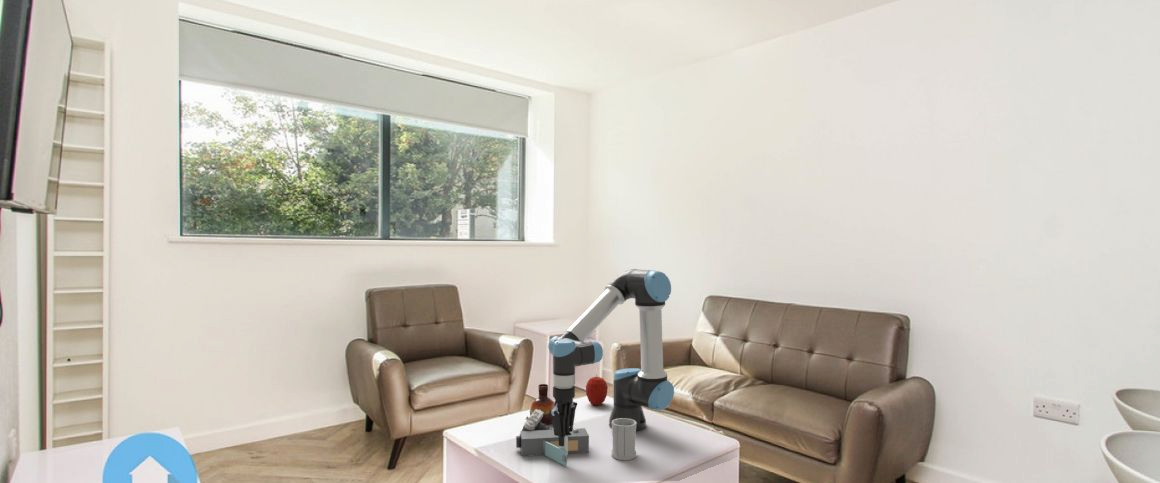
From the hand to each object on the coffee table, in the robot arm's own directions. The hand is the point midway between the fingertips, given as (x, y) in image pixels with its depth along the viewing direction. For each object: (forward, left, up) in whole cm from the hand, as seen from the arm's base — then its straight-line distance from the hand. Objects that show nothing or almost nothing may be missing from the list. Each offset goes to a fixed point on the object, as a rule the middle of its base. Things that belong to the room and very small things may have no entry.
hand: (563, 454), depth 190 cm
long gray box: (+2, -12, -3) cm, 12 cm away
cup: (-22, -4, -3) cm, 23 cm away
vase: (+3, -43, -3) cm, 43 cm away
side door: (+3, -2, -3) cm, 4 cm away
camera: (+8, -24, -3) cm, 25 cm away
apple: (-24, -64, -3) cm, 68 cm away
